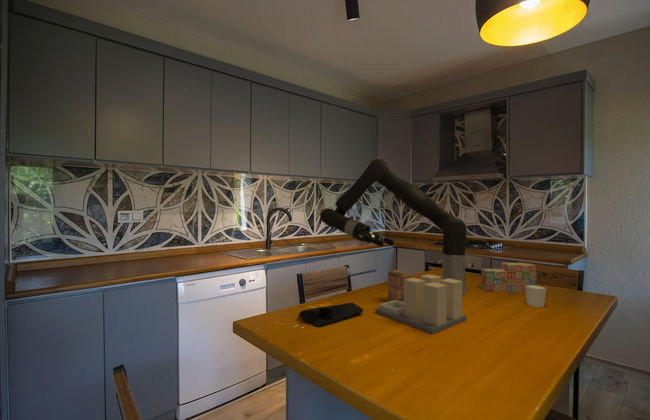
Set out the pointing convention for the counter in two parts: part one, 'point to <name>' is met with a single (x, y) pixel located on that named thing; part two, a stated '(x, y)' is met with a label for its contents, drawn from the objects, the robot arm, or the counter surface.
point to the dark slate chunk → (330, 314)
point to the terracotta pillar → (396, 285)
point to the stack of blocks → (509, 277)
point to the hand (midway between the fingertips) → (388, 244)
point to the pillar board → (427, 304)
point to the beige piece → (535, 295)
